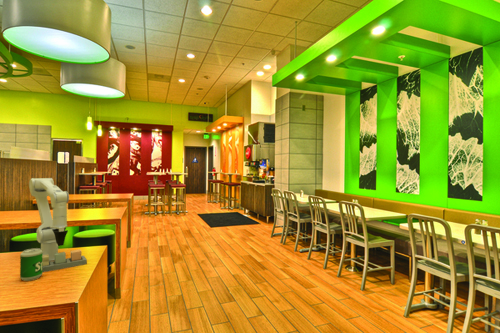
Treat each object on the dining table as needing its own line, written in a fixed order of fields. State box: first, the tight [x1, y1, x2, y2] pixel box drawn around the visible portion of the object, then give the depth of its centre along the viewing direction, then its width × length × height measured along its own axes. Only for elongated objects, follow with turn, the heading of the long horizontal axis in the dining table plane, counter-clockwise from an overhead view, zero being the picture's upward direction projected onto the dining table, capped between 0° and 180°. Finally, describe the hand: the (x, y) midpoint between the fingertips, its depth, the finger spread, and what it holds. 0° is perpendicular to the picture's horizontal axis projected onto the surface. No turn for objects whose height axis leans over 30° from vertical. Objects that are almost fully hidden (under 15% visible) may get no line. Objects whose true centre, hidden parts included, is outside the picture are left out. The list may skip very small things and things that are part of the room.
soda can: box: [19, 247, 43, 282], centre depth 119 cm, size 8×8×12 cm
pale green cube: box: [54, 251, 67, 264], centre depth 133 cm, size 4×4×4 cm
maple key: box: [43, 255, 49, 266], centre depth 129 cm, size 4×4×4 cm
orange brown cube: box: [70, 248, 82, 261], centre depth 137 cm, size 4×4×4 cm
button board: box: [42, 255, 88, 273], centre depth 133 cm, size 8×21×2 cm, turn 130°
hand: (59, 244), depth 136 cm, fingers open, 6 cm apart
